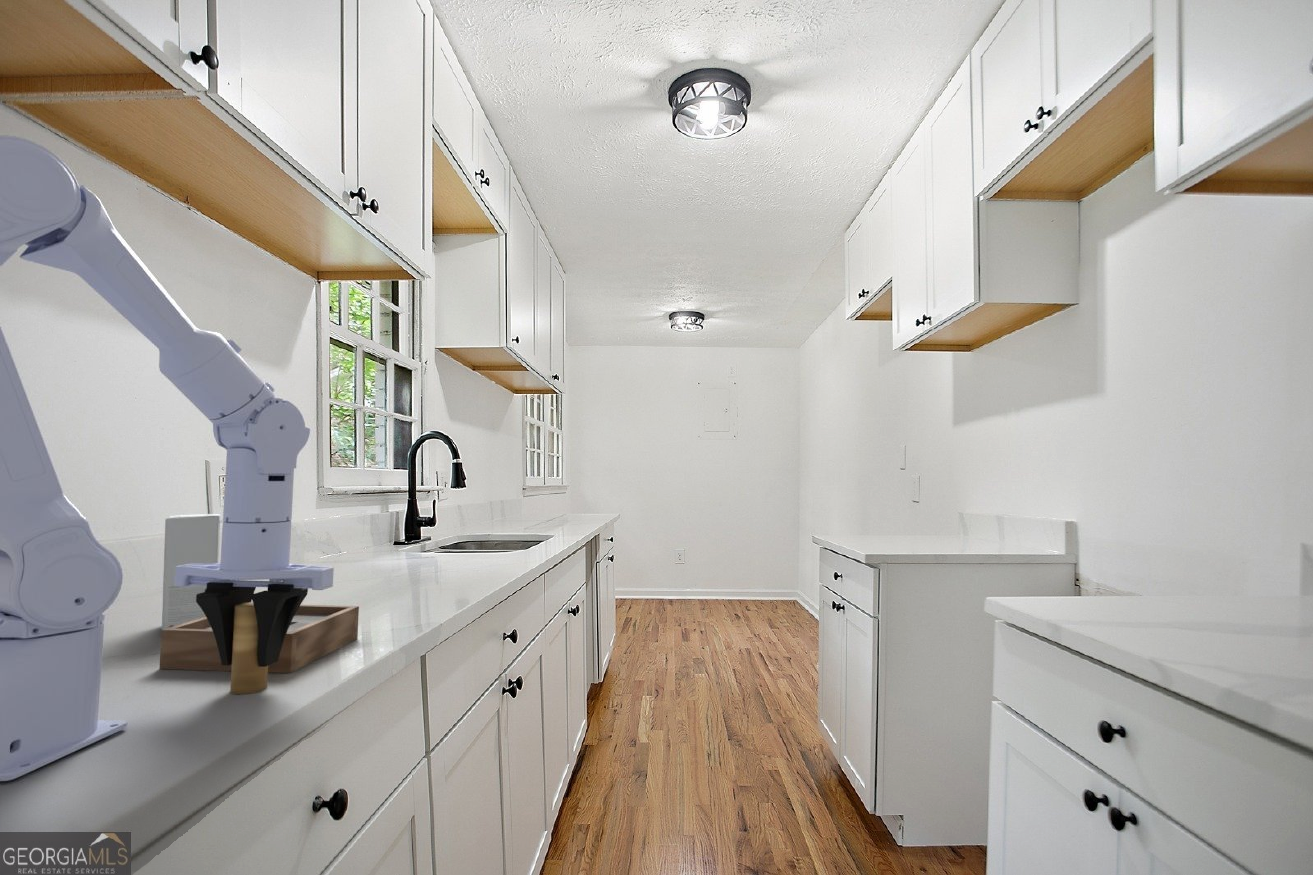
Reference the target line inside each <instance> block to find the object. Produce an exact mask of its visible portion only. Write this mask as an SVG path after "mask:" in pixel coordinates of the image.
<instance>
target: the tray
mask: <svg viewBox="0 0 1313 875" xmlns="http://www.w3.org/2000/svg"><path fill="white" fill-rule="evenodd" d="M359 611H360V606H359V605H357V606H355V605H327V604H326V605H324V604H322V605H321V604H319V605H318V604H301V605H300V606H299V608H298V610H297V612H296V613H295V615H294V617H293V619H292V621H291V623H290V626H289V628H288V631H287V633H286V636H285V639H284V642H283V645H282V648H281V652H280V655H279V659H278V661H277V662H275V663H273V664H270V665H268V673H284V674H291V673H294V672H295V671H297V670H299V669H301V668H303V667H305V666H307V665H309V664H311V663H313V662H315V661H317V660H319V659H320V658H323V657H325V656H326V655H329V654H330V653H332V652H334V651H336V650H339V649H341V648H342V647H343V646H346V645H348V644H350V643H352V642H354V641H356V640H358V637H359V636H358V635H359V615H360V614H359ZM160 636H161V640H160V656H159V668H158V669H159V670H183V671H184V670H185V671H187V670H189V671H191V670H192V671H217V672H218V671H219V672H221V671H222V672H231V669H232V664H231V665H228V666H226V665H222V663H221V659H220V655H219V650H218V646H217V643H216V639H215V636H214V633H213V630H212V628H211V626H210V623H209V621H208V619H207V617H203V618H200V619H196V620H193V621H190V622H186V623H183V624H180V625H177V626H173V627H170V628H167V629H163V630H162V629H161V635H160Z"/></svg>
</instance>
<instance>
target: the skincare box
mask: <svg viewBox="0 0 1313 875" xmlns="http://www.w3.org/2000/svg"><path fill="white" fill-rule="evenodd" d="M164 524H165V525H164V548H163V549H164V550H163V551H164V553H163V578H162V580H163V581H162V609H161V611H162V612H161V614H162V615H161V631H162V630H163V629H167V628H170V627H173V626H177V625H180V624H183V623H186V622H190V621H193V620H196V619H200V618H203V617H206V616H205V614H204V612H203V611H202V609H201V608H200V606H199V605H198V604H197V602H196V595H197V594H199V593H203V592H205V589H206V588H207V586H199V585H189V586H174V581H175V567H176V566H180V565H186V564H216V563H220V546H221V541H220V539H221V514H220V513H204V514H203V513H202V514H201V513H200V514H178V515H177V514H175V515H169V516H167V517H166V518H165V522H164Z"/></svg>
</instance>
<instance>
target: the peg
mask: <svg viewBox="0 0 1313 875" xmlns="http://www.w3.org/2000/svg"><path fill="white" fill-rule="evenodd" d="M257 646H258V626H257V618H256V612H255V608H254V604H253V601H251V602H246V603H241V604H237V605H235V613H234V631H233V650H232V669H231V671H230V672H231V673H230V690H229V691H230V692H229V693H231V694H233V695H249V694H253V693H258V692H261V691H263V690H265V689H267V687H268V677H269V676H268V675H269V674H268V673H269V672H268V666H266V667H258V660H257Z"/></svg>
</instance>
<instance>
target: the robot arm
mask: <svg viewBox="0 0 1313 875" xmlns="http://www.w3.org/2000/svg"><path fill="white" fill-rule="evenodd" d="M24 245H26V246H27V247H26V248H25V250H24V251H23V252H22V253H21V254H20V255H19V258H20V259H21V260H24V261H27V262H32V263H34V264H35V263H36V264H39V265H43V266H47V267H51V268H55V269H59V270H63V271H66V272H70V273H74V274H76V275H77V276H78V277H80V279H82V280H83V281H84V282H85V283H87V285H88V286H90V287H91V288H92V290H94V291H95V292H96V293H97V294H98V295H99V296H100V297H101V298H102V299H104V300H105V301H106V302H107V303H108V304H109V305H110V306H112V308H114V310H115V311H117V312H118V313H119V314H120V315H121V316H122V317H123V318H124V319H126V320H127V321H128V322H129V323H130V324H131V325H132V326H133V327H134V328H135V329H137V331H139V332H140V333H141V334H142V335H143V336H144V337H145V338H146V339H147V340H149V342H150V343H151V344H153V345H154V346H155V347H156V348H157V349H158V352H159V353H158V354H159V355H158V356H159V360H158V368H159V372H160V373H161V374H162V375H163V376H164V377H165V378H166V379H167V380H168V381H170V383H171V384H172V385H173V386H174V387H176V389H177V390H178V391H179V392H181V394H182V395H183V396H184V397H185V398H186V399H188V401H189V402H190V403H192V405H194V406H195V407H196V409H198V410H199V412H200V413H202V414H203V415H204V416H205V417H206V418H207V420H209V421H210V422H211V423H212V432H213V436H214V439H215V442H216V443H217V445H218V446H220V447H221V448H224V449H225V450H226V460H225V462H226V463H225V475H224V478H225V479H224V491H223V492H224V494H223V496H224V497H223V510H222V514H223V515H222V528H221V542H220V546H221V548H220V560H219V563H216V564H186V565H180V566H176V567H175V581H174V586H189V585H199V586H207V588H206V589H205V592H203V593H199V594H197V595H196V602H197V604H198V605H199V606H200V608H201V609H202V611H203V612H204V614H205V616H206V617H207V619H208V621H209V623H210V626H211V628H212V630H213V633H214V636H215V639H216V643H217V646H218V650H219V655H220V659H221V663H222V665H226V666H228V665H231V664H232V650H233V631H234V613H235V605H237V604H241V603H246V602H253V604H254V608H255V612H256V618H257V626H258V646H257V660H258V667H266V666H268V665H270V664H273V663H275V662H277V661H278V659H279V655H280V652H281V648H282V645H283V642H284V639H285V636H286V633H287V631H288V628H289V626H290V623H291V621H292V619H293V617H294V615H295V613H296V612H297V610H298V608H299V606H300V605H302V603H303V602H304V601H305V598H306V597H307V595H308V592H309V589H311V590H313V591H324V590H327V589H330V588H333V587H334V568H335V567H334V566H319V565H318V566H315V565H308V564H297V563H290V559H291V558H290V553H291V536H292V534H291V533H292V520H293V518H292V516H293V515H292V514H293V501H294V500H293V496H294V494H293V493H294V479H295V478H294V477H295V476H294V475H295V474H294V473H295V469H297V462H298V461H297V460H298V455H299V454H300V452H301V451H302V450H303V448H304V447H305V446H306V444H307V442H308V441H309V438H310V434H311V429H310V428H309V427H307V426H306V423H305V420H304V417H303V415H302V413H301V411H300V410H299V409H298V407H297V406H296V405H295V404H293V403H292V402H291V401H288V400H285V399H283V398H278V397H276V396H275V394H274V392H275V388H274V387H273V385H272V384H271V383H270V382H264V381H263V380H262V379H261V377H259V375H258V374H257V373H256V372H255V371H254V369H252V368H251V367H250V365H249V364H248V363H247V362H246V361H245V360H244V358H243V357H242V356H241V355H240V354H239V353H241V351H242V347H240V346H239V344H238V343H237V342H236V341H235V339H227V340H226V338H225V337H224V336H223V335H222V334H221V333H219V332H214V331H210V330H209V331H207V330H203V329H200V328H197V327H196V326H195V324H194V323H193V322H192V321H191V320H190V318H189V317H188V316H187V315H186V313H185V312H184V311H183V310H182V309H181V308H180V306H179V305H178V304H177V303H176V301H175V300H174V298H172V297H171V296H170V294H169V293H168V292H167V291H166V290H165V288H164V287H163V285H161V283H160V282H159V281H158V279H156V277H155V276H154V275H153V274H152V272H151V271H150V270H149V269H148V268H147V266H146V265H145V264H144V262H143V261H142V260H141V259H140V258H139V257H138V255H137V254H136V253H135V251H133V249H132V248H131V247H130V246H129V245H128V242H126V241H125V240H124V238H123V237H122V235H120V233H119V232H118V230H117V229H116V228H115V226H114V224H113V222H112V221H111V218H110V217H109V215H108V212H107V211H106V209H105V206H103V204H102V201H101V200H100V199H99V198H98V197H97V195H96V194H95V193H93V191H91V190H90V189H88V188H87V187H86V186H85V185H84V184H81V185H79V182H78V181H77V178H76V176H75V174H74V173H73V172H72V170H71V169H70V167H69V166H68V165H67V164H66V163H65V161H63V160H62V158H60V157H59V156H58V155H57V154H55V153H54V152H52V151H51V150H49V149H47V148H46V147H44V146H43V145H42V144H38V143H36V142H35V141H32V140H29V139H26V138H22V137H20V136H14V135H7V134H0V268H1V267H2V266H3V265H4V264H5V263H7V261H8V260H10V258H11V257H12V256H13V255H14V254H15V253H16V252H17V251H18V249H19V248H21V247H22V246H24ZM123 578H124V574H123V569H122V566H121V563H120V561H119V560H118V558H117V557H116V556H115V554H114V553H113V552H112V551H111V550H109V549H108V548H107V547H105V546H104V545H102V544H101V543H100V541H98V540H97V539H96V537H95V536H94V534H93V532H92V530H91V527H90V524H89V521H88V520H87V519H86V517H85V515H83V514H82V513H81V511H79V509H78V508H77V507H76V506H75V505H74V504H73V503H72V502H71V501H70V500H69V498H67V496H66V495H65V494H64V491H63V489H62V486H61V484H60V481H59V478H58V475H57V472H56V470H55V467H54V465H53V461H52V460H51V457H50V454H49V451H48V448H47V446H46V444H45V440H44V438H43V435H42V433H41V430H40V427H39V424H38V421H37V419H36V416H35V413H34V411H33V409H32V406H31V403H30V400H29V397H28V395H27V392H26V390H25V386H24V384H23V382H22V379H21V377H20V373H19V371H18V368H17V366H16V363H15V360H14V357H13V355H12V352H11V350H10V347H9V345H8V342H7V339H6V336H5V333H4V330H3V328H2V325H1V324H0V782H7V781H12V780H14V779H15V780H16V779H17V778H19V777H21V776H24V775H26V774H28V773H30V772H33V771H35V770H37V769H39V768H41V767H44V766H46V765H49V764H50V763H52V762H55V761H57V760H59V759H61V758H63V757H66V756H67V755H70V754H72V753H74V752H76V751H79V750H80V749H82V748H85V747H88V746H90V745H91V744H94V743H96V742H98V741H100V740H102V739H105V738H107V737H109V736H111V735H114V734H116V733H118V732H120V731H122V730H124V729H126V728H128V726H129V725H128V721H127V720H111V719H109V720H106V719H99V711H100V710H99V708H100V692H101V679H102V678H101V677H102V676H101V675H102V661H103V648H104V632H105V617H106V614H105V612H106V611H107V610H108V609H109V608H110V606H112V605H113V603H114V602H115V600H116V599H117V597H118V596H119V593H120V591H121V589H122V585H123V580H124V579H123ZM256 588H267V590H263V591H260V592H259V591H258V592H256Z"/></svg>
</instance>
